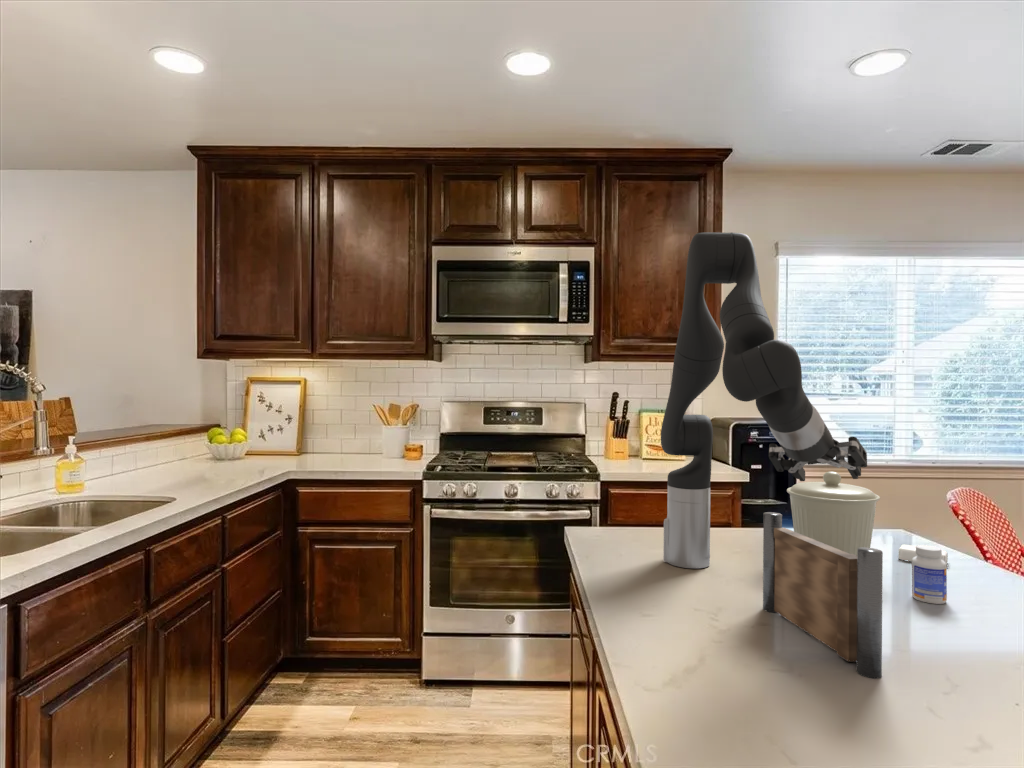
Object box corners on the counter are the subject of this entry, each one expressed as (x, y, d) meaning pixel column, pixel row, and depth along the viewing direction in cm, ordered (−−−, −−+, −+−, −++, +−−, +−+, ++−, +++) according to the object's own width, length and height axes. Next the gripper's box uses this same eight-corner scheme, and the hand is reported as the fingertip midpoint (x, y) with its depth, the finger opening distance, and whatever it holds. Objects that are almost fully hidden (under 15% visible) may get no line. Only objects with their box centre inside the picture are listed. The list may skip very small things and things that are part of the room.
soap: (947, 563, 136) (948, 550, 136) (946, 568, 132) (946, 555, 132) (901, 555, 142) (901, 543, 142) (897, 561, 138) (898, 547, 138)
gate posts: (759, 606, 107) (760, 512, 107) (774, 606, 108) (775, 512, 108) (867, 679, 81) (867, 553, 81) (887, 677, 81) (887, 552, 81)
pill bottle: (952, 605, 109) (953, 552, 109) (919, 603, 110) (919, 550, 110) (937, 595, 114) (938, 544, 114) (906, 593, 115) (906, 542, 115)
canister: (898, 581, 122) (899, 478, 122) (809, 580, 123) (810, 477, 123) (850, 556, 140) (851, 466, 140) (772, 555, 141) (773, 465, 141)
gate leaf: (772, 611, 104) (772, 527, 104) (785, 610, 104) (785, 527, 104) (848, 661, 85) (849, 559, 85) (863, 660, 85) (864, 558, 85)
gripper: (847, 403, 93) (874, 453, 102) (755, 414, 102) (787, 459, 112) (848, 445, 89) (875, 493, 99) (752, 452, 99) (785, 496, 108)
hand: (828, 475), depth 105 cm, fingers open, 8 cm apart
